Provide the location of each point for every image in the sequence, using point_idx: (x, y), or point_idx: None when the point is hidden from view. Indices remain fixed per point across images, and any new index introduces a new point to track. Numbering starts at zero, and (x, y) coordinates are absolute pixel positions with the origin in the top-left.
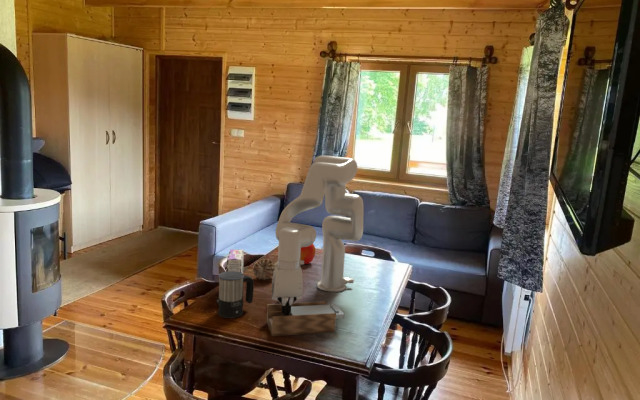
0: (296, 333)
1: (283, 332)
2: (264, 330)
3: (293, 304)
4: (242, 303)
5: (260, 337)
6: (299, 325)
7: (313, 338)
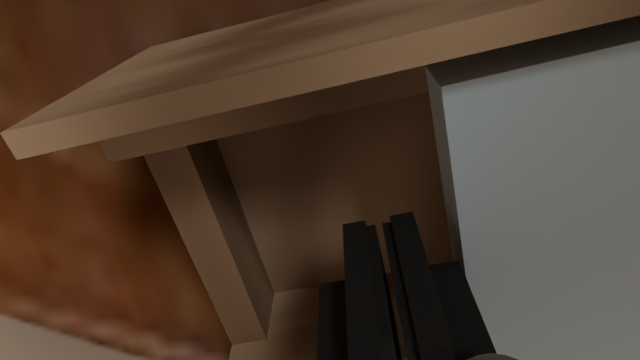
0: None
1: None
2: (174, 226)
3: (592, 19)
4: None
5: (172, 331)
6: None
7: None
